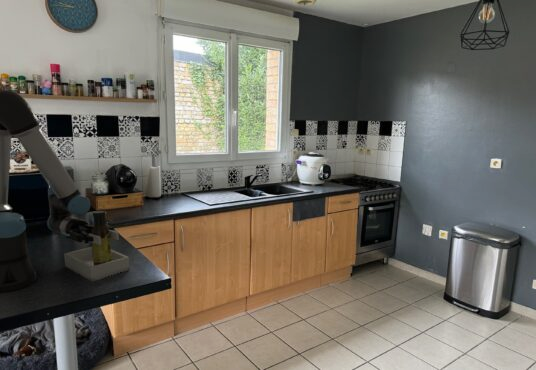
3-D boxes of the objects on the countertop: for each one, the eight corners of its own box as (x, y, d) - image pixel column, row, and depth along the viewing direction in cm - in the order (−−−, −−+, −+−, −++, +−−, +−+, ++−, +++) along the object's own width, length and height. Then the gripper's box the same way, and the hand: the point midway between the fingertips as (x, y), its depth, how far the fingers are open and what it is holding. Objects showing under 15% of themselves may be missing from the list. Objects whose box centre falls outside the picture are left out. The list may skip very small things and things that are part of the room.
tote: (129, 270, 139) (128, 257, 139) (91, 281, 129) (90, 267, 128) (101, 256, 154) (100, 244, 153) (65, 266, 143) (64, 253, 142)
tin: (97, 249, 162) (94, 215, 160) (84, 248, 163) (82, 214, 161) (105, 245, 168) (103, 212, 165) (93, 244, 169) (91, 211, 167)
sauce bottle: (113, 266, 137) (110, 212, 133) (94, 269, 133) (90, 214, 130) (110, 260, 142) (106, 209, 139) (92, 263, 139) (88, 211, 135)
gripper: (98, 231, 154) (133, 241, 141) (50, 243, 139) (83, 256, 126) (97, 213, 153) (132, 222, 140) (48, 223, 138) (81, 234, 125)
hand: (108, 238), depth 133 cm, fingers closed on sauce bottle, 6 cm apart
